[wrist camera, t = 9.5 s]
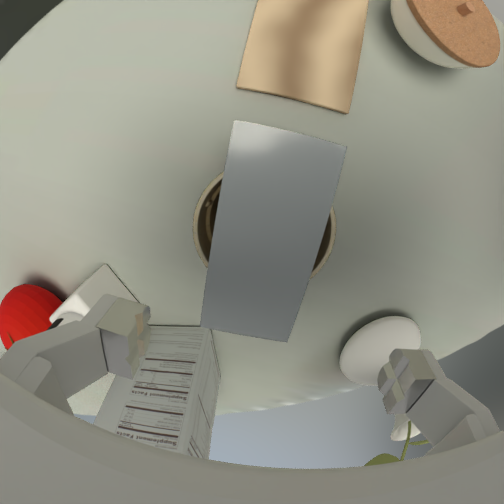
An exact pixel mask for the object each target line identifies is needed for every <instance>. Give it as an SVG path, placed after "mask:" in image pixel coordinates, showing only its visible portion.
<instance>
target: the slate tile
mask: <svg viewBox="0 0 504 504" xmlns="http://www.w3.org/2000/svg"><path fill="white" fill-rule="evenodd" d="M346 150H347V146H344V145H340V144H337V143H334V142H330V141H327V140H323V139H320V138H316V137H312V136H308V135H304V134H300V133H296V132H292V131H288V130H284V129H279V128H275V127H270V126H265V125H261V124H255V123H250V122H245V121H239V120H234V123H233V128H232V133H231V138H230V143H229V148H228V153H227V158H226V163H225V169H224V174H223V179H222V185H221V190H220V196H219V202H218V207H217V213H216V219H215V225H214V231H213V238H212V244H211V250H210V257H209V263H208V270H207V277H206V284H205V291H204V299H203V306H202V314H201V322H200V327H204V328H208V329H213V330H218V331H223V332H229V333H234V334H239V335H245V336H251V337H256V338H262V339H269V340H275V341H282V342H287V341H288V338H289V336H290V333H291V330H292V328H293V325H294V322H295V319H296V316H297V314H298V311H299V308H300V305H301V302H302V299H303V296H304V294H305V291H306V288H307V285H308V282H309V279H310V276H311V273H312V269H313V266H314V263H315V260H316V257H317V254H318V251H319V247H320V244H321V241H322V238H323V234H324V231H325V227H326V224H327V221H328V217H329V214H330V210H331V207H332V203H333V200H334V196H335V192H336V189H337V185H338V181H339V177H340V173H341V170H342V166H343V162H344V158H345V154H346Z"/></svg>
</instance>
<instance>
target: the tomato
mask: <svg viewBox="0 0 504 504" xmlns="http://www.w3.org/2000/svg"><path fill="white" fill-rule="evenodd" d="M61 304H62V301H61V300H60V299H59V298H58V297H57V296H55V295H54V294H53V293H51V292H50V291H48V290H46V289H44V288H42V287H39V286H36V285H29V284H23V285H20V286H17V287H14V288H13V289H12V290H11V291H10V292H9V293H8V294H6V296H5V297H4V299H3V300H2V303H1V305H0V336H1V340H2V342H3V344H4V346H5V347H4V348H6V349H7V350H8V349H9V348H10V347H11V346H12V345H13V344H14V343H15V341H18V340H21V339H24V338H27V337H30V336H33V335H35V334H38V333H41V332H44V331H46V330H47V329H48V328H49V327H50V326H51V325H52V323H51V322H50V319H49V318H50V316H51V315H52V314H53V313H54V312H55V311H56V310H57V309H58V308H59V307H60V305H61Z"/></svg>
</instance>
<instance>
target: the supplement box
mask: <svg viewBox="0 0 504 504" xmlns="http://www.w3.org/2000/svg"><path fill="white" fill-rule="evenodd" d="M150 328H151V335H150V342H149V345H148V349H147V351H146V353H145V355H144V356H142V357H140V358H139V361H140V366H139V368H138V370H137V372H136V374H135V376H134V378H133V380H132V379H128V378H125V377H122V376H119V375H116V376H115V378H114V380H113V382H112V385H111V387H110V389H109V391H108V393H107V395H106V397H105V399H104V401H103V403H102V406H101V408H100V410H99V412H98V415H97V417H96V419H95V421H94V423H93V425H95V426H98V427H100V428H103V429H105V430H108V431H110V432H113V433H115V434H118V435H121V436H124V437H126V438H129V439H132V440H135V441H138V442H141V443H144V444H148V445H151V446H154V447H158V448H161V449H165V450H169V451H172V452H176V453H180V454H185V455H189V456H194V457H198V458H203V459H209V452H210V443H211V433H212V427H213V423H214V417H215V410H216V403H217V396H218V389H219V383H220V377H221V376H220V371H219V366H218V362H217V357H216V353H215V348H214V343H213V338H212V333H211V329H208V328H204V327H175V326H150Z"/></svg>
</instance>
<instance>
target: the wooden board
mask: <svg viewBox="0 0 504 504" xmlns="http://www.w3.org/2000/svg"><path fill="white" fill-rule="evenodd" d="M367 8H368V0H258V3H257V6H256V10H255V14H254V17H253V21H252V25H251V28H250V32H249V36H248V40H247V44H246V48H245V52H244V56H243V60H242V64H241V68H240V72H239V77H238V81H237V85H236V87H237V88H240V89H245V90H251V91H257V92H262V93H267V94H272V95H276V96H281V97H285V98H290V99H294V100H298V101H302V102H306V103H309V104H313V105H317V106H320V107H324V108H327V109H330V110H334V111H337V112H340V113H343V114H348V113H349V109H350V105H351V100H352V95H353V90H354V85H355V80H356V75H357V70H358V64H359V59H360V53H361V47H362V41H363V35H364V29H365V22H366V15H367Z"/></svg>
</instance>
